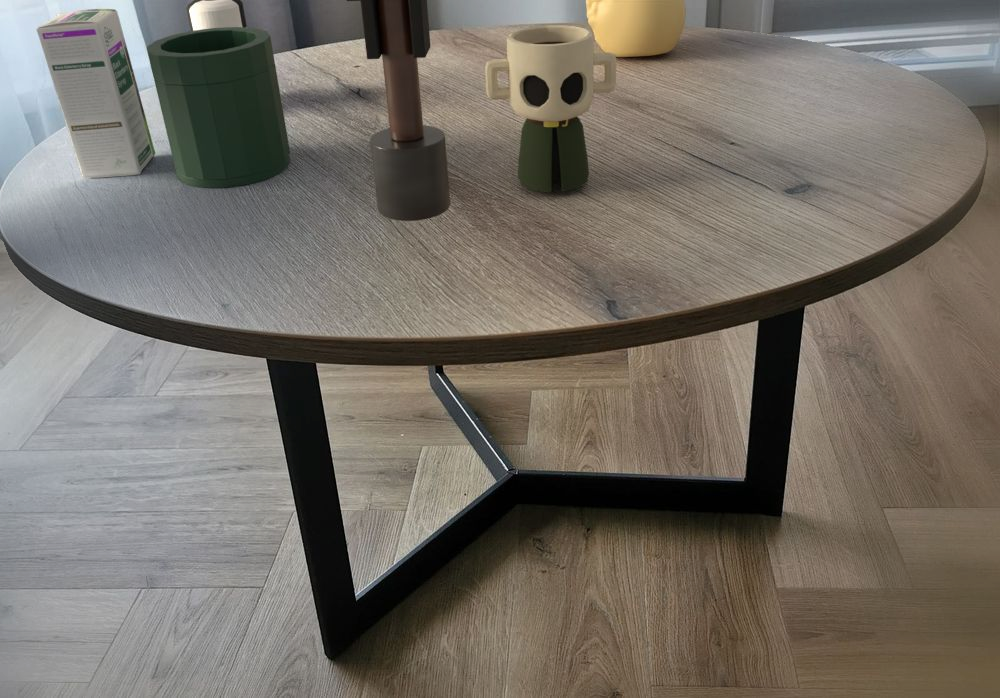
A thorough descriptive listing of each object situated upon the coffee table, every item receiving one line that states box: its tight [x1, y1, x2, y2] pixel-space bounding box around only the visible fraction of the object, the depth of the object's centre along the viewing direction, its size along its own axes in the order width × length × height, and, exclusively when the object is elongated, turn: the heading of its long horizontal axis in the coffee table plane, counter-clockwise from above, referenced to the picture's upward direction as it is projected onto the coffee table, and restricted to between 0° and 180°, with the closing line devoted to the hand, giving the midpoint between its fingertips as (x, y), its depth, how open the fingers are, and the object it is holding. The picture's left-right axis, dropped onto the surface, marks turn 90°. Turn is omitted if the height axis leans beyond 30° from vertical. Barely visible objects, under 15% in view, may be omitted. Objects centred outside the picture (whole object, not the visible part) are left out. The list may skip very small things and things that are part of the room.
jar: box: [146, 27, 292, 189], centre depth 90 cm, size 11×11×12 cm
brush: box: [369, 0, 451, 222], centre depth 61 cm, size 5×5×19 cm
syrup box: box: [35, 8, 156, 179], centre depth 91 cm, size 6×6×14 cm
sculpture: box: [585, 0, 687, 58], centre depth 119 cm, size 12×12×11 cm
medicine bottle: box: [185, 0, 248, 31], centre depth 107 cm, size 7×7×12 cm
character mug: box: [484, 24, 617, 193], centre depth 81 cm, size 11×7×13 cm, turn 92°
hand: (399, 52), depth 61 cm, fingers closed on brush, 2 cm apart
